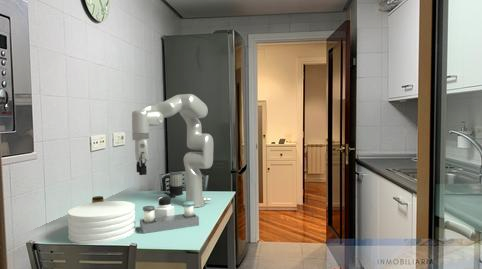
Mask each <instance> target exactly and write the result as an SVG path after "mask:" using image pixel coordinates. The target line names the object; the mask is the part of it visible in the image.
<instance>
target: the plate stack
mask: <svg viewBox="0 0 482 269" xmlns="http://www.w3.org/2000/svg"><path fill="white" fill-rule="evenodd" d="M135 209H136V204H135V203H134V202H130V201H125V200H124V201H123V200H107V201H106V200H105V201H104V200H103V202H95V203H92V202H88V203H85V204H81V205H78V206H77V205H76V206H74V207H71V208H70V209H69V210H68V211H67V216H68V217H67V222H68V223H67V227H68V240H69V241H70V242H72V243H76V244H82V245H92V244H93V245H95V243H96V244H103V242H105V243H110V242H109V241H111V242H114V240H115V241H118V239H119V240H123V239H125V238H127V236H128V237H129V236H131V235H133V234H134V233H135V232H136V230H137V229H136V228H137V227H136V210H135Z"/></svg>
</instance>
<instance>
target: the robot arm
mask: <svg viewBox="0 0 482 269" xmlns="http://www.w3.org/2000/svg"><path fill="white" fill-rule="evenodd" d="M208 110H209V109H208V106H207V105H206V103H204V102H203V101H202V100H201V99H200V98H199V97H198V96H196V95H195V94H192V93H186V94H176V95H174V96H172V97H171V98H168V99H166V100H165V101H161V102H158V103H156V104H152V105H148V106H146V107H143V108H141V109H139V110H133V111H132V112H131V130H132V131H131V134H132V136H131V139H132V141H134V152H135V156H134V157H135V161H136V173H138V174H139V176H146V175H147V173H148V172H147V162H148V161H149V160H150V159H149V145H148V141H149V140H150V127H157V126H160V125H161V124H162V123H164V119H166V118H169V117H172V116H174V115H176V114H178V113H179V115H180V116H181V117H182V119H183V120H184V122H185V124H186V147H187V148H188V149H190V150H196V151H189V152H186V153H185V155H184V156H183V166H184V169H185V172H184V173H185V198H186V199H185V202H186V201H193V202H194V205H193V209H195V208H202V207H204V206H206V202H211V197H204V196H203V174H202V172H201V170H200V169H204V170H207V169H211V167H212V166H213V163H214V138H213V136H212V135H211V134H209V133H202V132H203V131H202V123H201V121H200V119H203V118H205V117H206V116H208ZM197 150H199V151H197ZM200 150H201V152H200Z"/></svg>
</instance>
